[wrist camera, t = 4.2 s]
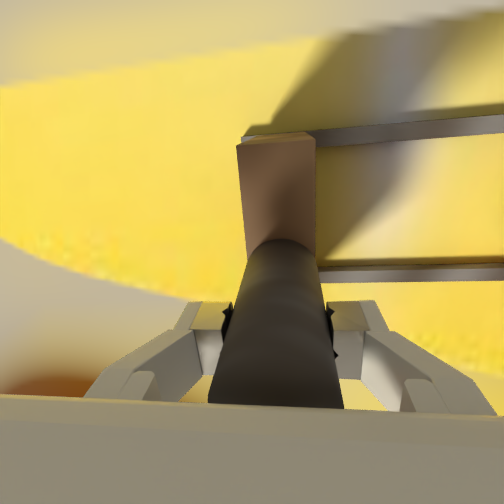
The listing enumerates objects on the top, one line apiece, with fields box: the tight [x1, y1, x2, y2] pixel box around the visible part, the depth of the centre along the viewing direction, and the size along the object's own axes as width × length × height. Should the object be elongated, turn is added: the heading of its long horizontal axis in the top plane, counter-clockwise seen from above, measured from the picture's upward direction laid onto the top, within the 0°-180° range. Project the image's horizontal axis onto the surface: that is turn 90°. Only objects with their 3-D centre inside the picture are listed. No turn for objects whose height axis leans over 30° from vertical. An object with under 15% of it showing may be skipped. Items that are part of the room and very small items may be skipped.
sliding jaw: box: [208, 132, 344, 409], centre depth 14 cm, size 3×11×15 cm, turn 5°
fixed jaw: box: [241, 114, 504, 283], centre depth 16 cm, size 28×11×9 cm, turn 95°
